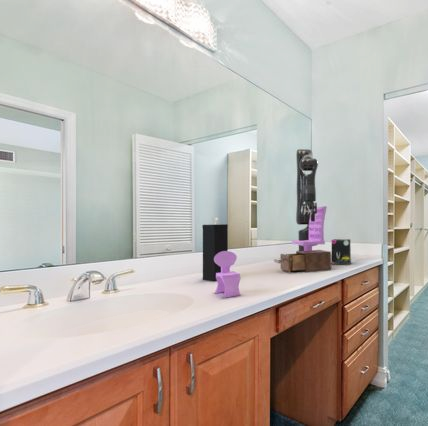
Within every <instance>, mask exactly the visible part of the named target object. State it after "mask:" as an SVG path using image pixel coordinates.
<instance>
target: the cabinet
mask: <svg viewBox="0 0 428 426" xmlns="http://www.w3.org/2000/svg"><path fill="white" fill-rule="evenodd" d="M296 253H300V254H305V265H306V269H305V270H300V271H301V272H304V273H313V272H314V273H315V272H323V271H325V272H326V271H331V270H332V251H329V250H322V249H312V250H308V251H298V250H296V251H295V254H296Z"/></svg>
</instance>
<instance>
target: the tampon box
mask: <svg viewBox="0 0 428 426" xmlns="http://www.w3.org/2000/svg"><path fill="white" fill-rule="evenodd" d="M330 242H331V265H346V266H347V265H348V266H350V264H351V263H352V255H351V250H352V249H351V239H350V238H348V239H346V238H345V239H343V238H334V239H331V241H330Z"/></svg>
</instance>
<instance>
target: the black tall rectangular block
mask: <svg viewBox="0 0 428 426" xmlns="http://www.w3.org/2000/svg"><path fill="white" fill-rule="evenodd" d="M218 220H219V218H218V217H213V216H212V221H213V224H202V281H203V280H204V281H211V282H217V279H216V273H221V267H220V266H218V265H217V264H216V263H215V262H214V257H215V255H216V254H218V253H219V252H222V251H229V250H228V245H229V244H228V243H229V241H228V236H229V235H228V230H229V229H228V228H229V225H228V224H227V223H226V224H224V223H223V224H222V223H221V224H220V223H219V224H217V223H218Z"/></svg>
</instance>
